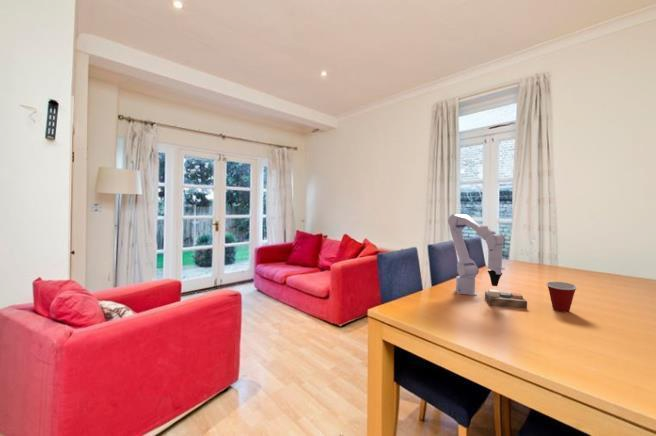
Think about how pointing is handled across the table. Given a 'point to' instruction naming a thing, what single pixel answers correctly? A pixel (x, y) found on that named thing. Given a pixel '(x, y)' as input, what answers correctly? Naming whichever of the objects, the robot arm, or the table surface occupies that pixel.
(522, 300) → the key box
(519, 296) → the terracotta key
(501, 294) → the charcoal key
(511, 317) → the table surface
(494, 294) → the ivory key
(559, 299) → the plastic cup
